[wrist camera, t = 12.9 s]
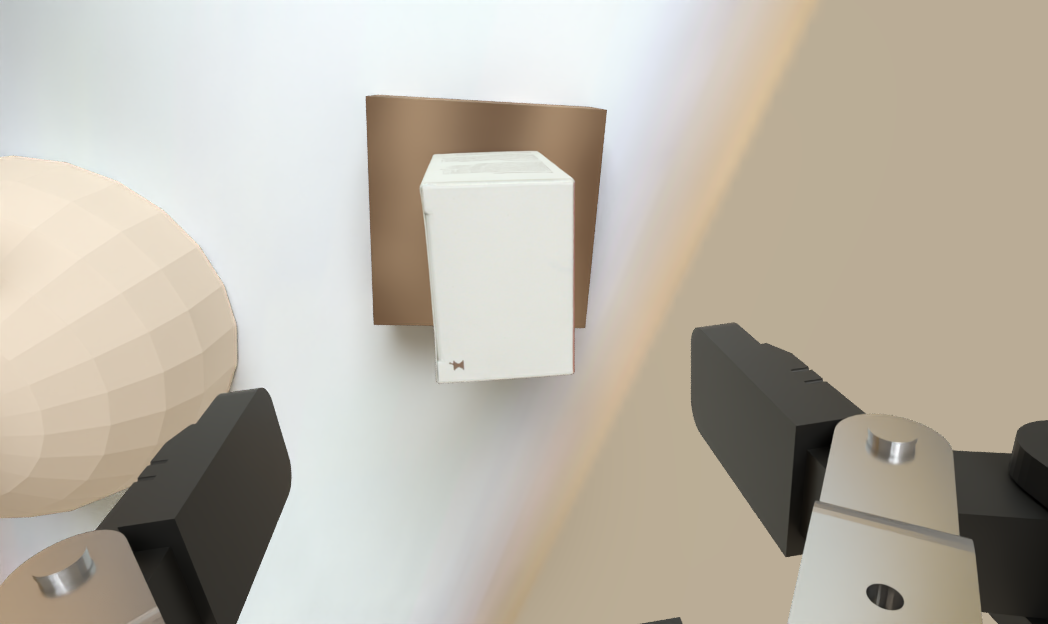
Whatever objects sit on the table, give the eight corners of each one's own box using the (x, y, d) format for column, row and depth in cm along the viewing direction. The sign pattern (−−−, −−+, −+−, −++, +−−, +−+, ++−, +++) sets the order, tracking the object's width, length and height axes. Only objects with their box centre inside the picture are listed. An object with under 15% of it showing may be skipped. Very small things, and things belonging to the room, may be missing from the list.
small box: (541, 294, 34) (577, 381, 24) (441, 299, 33) (435, 390, 23) (540, 147, 31) (579, 177, 21) (430, 150, 30) (418, 183, 20)
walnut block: (384, 295, 38) (373, 324, 33) (378, 94, 34) (365, 96, 29) (570, 299, 39) (585, 328, 35) (587, 106, 35) (606, 109, 30)
